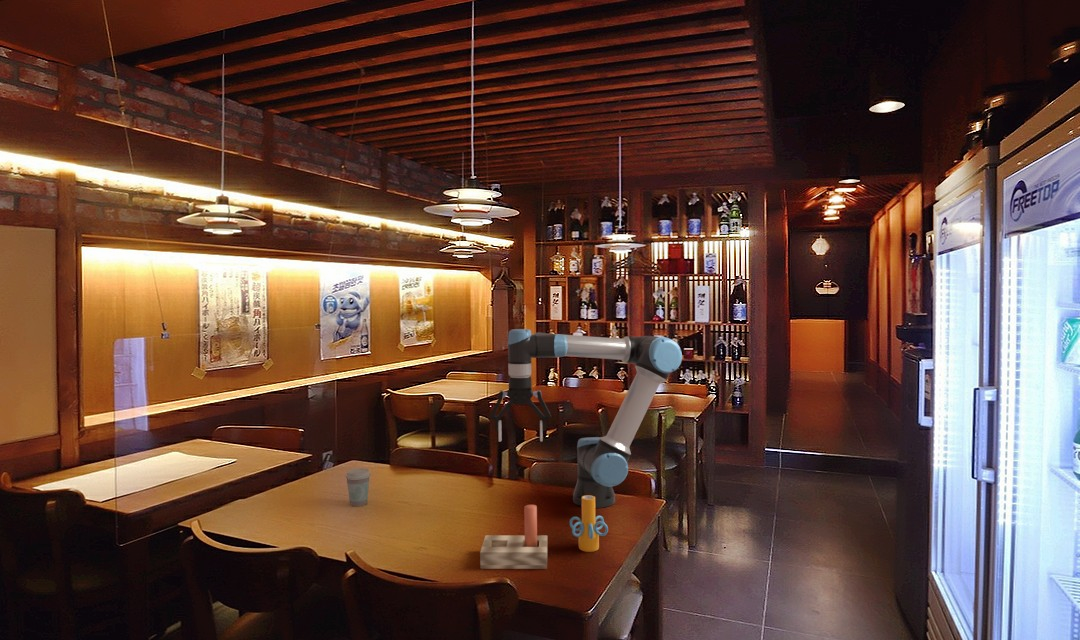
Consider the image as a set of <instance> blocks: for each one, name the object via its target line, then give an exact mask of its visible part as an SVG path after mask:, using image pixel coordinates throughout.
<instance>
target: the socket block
mask: <svg viewBox="0 0 1080 640" xmlns="http://www.w3.org/2000/svg"><path fill="white" fill-rule="evenodd" d="M484 536H485V537H484V539H483V543H482V546H481V549H480V550H479V554H480V555H479V557H480V559H479V561H480V562H479V563H480V570H481V569H482V570H485V569H489V570H490V569H491V570H496V569H498V570H499V569H500V570H501V569H503V570H507V569H509V570H510V569H513V570H519V569H520V570H547V569H548V553H549V552H548V535H546V534H545V535H543V534H541V535H538V534H537V547H525V534H524V535H518V534H517V535H516V534H515V535H514V534H513V535H508V534H507V535H498V534H497V535H495V534H493V535H491V534H490V535H489V534H488V535H484Z"/></svg>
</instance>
